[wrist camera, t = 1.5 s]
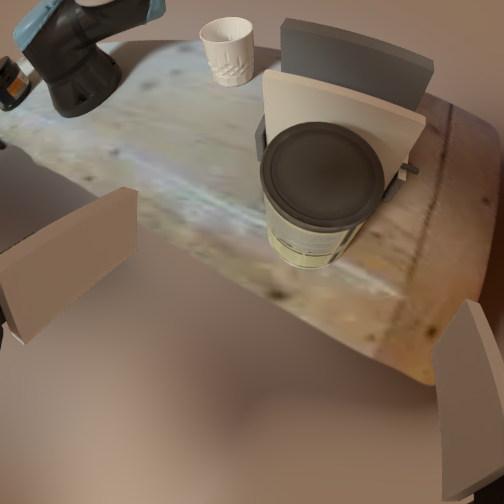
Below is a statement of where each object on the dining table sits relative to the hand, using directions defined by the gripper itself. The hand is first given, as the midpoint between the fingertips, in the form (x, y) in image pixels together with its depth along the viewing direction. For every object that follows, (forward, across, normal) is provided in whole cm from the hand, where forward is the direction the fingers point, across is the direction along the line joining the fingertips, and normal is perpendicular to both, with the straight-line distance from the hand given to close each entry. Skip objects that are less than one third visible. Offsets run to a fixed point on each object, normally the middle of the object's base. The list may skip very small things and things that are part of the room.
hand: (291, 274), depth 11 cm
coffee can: (+26, 0, -10) cm, 27 cm away
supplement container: (+35, -76, +1) cm, 84 cm away
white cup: (+42, -19, +7) cm, 46 cm away
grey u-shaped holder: (+34, 0, 0) cm, 35 cm away
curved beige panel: (+31, +1, -3) cm, 31 cm away
